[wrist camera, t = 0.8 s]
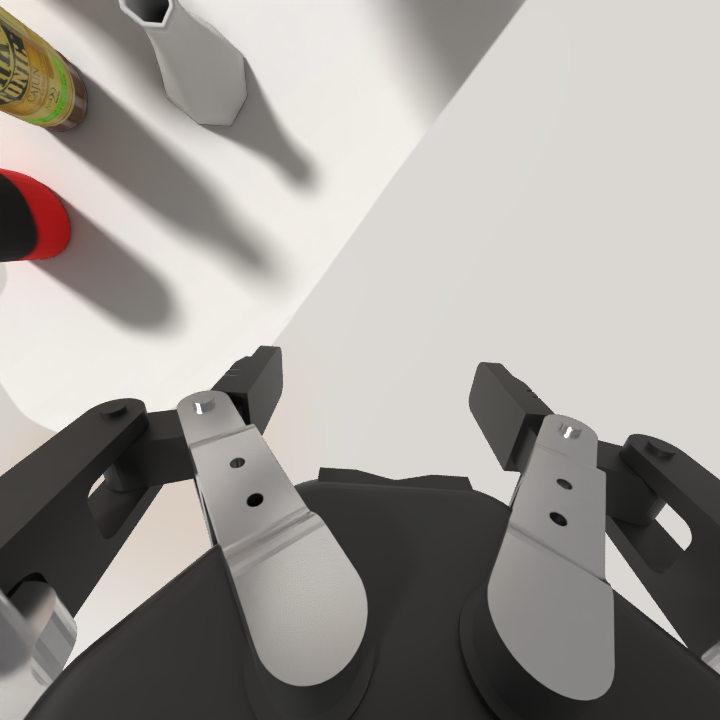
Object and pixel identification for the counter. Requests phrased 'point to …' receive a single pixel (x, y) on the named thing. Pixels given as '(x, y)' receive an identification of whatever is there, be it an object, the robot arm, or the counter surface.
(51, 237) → the soda can
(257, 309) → the counter surface
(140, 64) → the counter surface
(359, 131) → the counter surface
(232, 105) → the flask
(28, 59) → the sauce bottle
